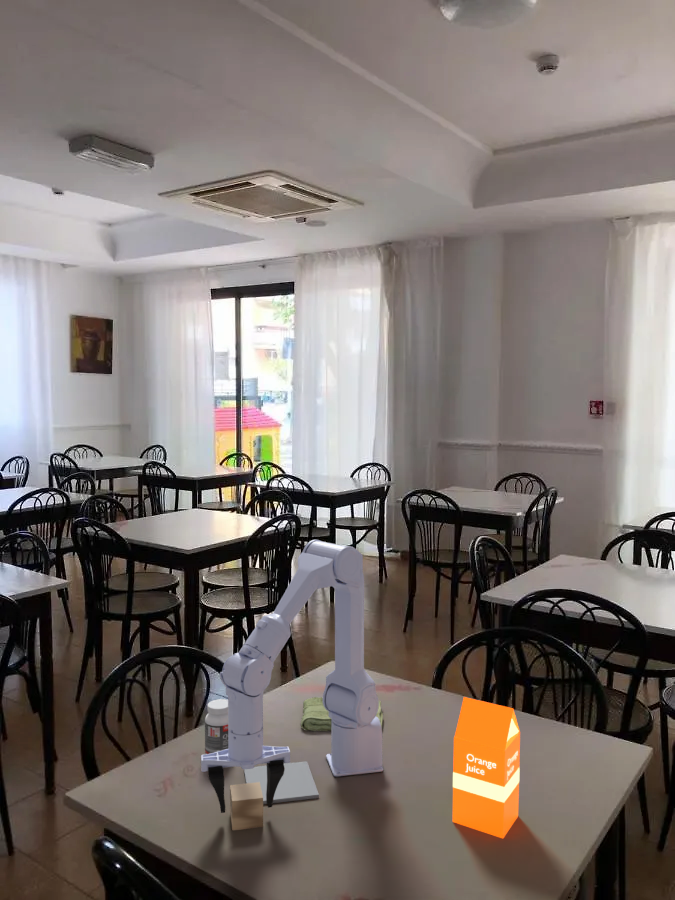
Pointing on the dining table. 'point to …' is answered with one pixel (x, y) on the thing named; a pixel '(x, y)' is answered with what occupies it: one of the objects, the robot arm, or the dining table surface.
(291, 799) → the grey board
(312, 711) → the washcloth
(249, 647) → the robot arm
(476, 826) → the orange juice
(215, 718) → the pill bottle
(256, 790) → the oak cube
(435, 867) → the dining table surface
